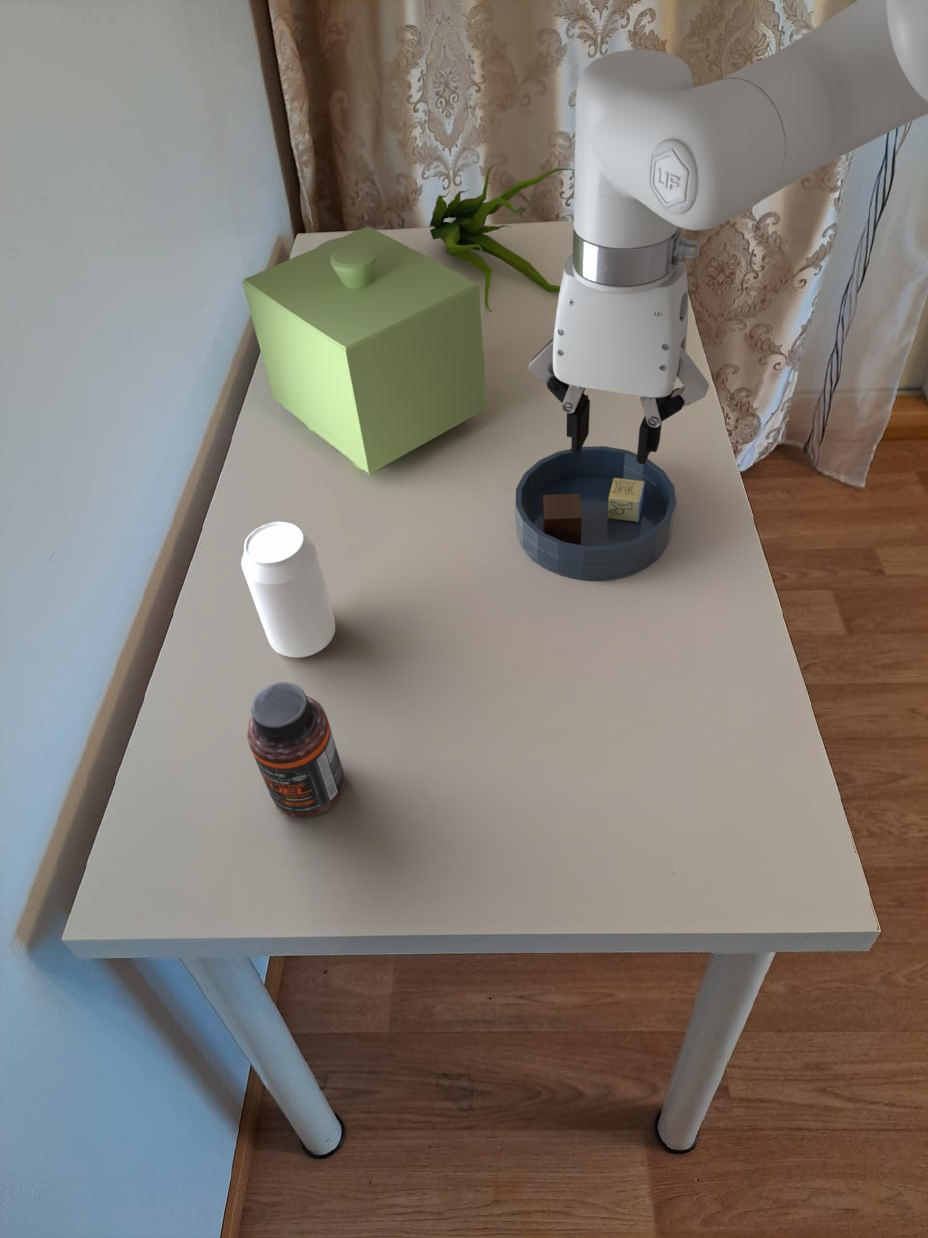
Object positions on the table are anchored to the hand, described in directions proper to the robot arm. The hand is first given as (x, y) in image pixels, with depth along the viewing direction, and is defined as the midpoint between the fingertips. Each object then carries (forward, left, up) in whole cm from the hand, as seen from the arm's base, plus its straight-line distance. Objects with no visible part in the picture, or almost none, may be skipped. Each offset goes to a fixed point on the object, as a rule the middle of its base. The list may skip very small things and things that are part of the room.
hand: (612, 447), depth 80 cm
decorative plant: (+26, -47, -12) cm, 55 cm away
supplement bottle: (+15, +34, -12) cm, 39 cm away
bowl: (+2, -2, -11) cm, 12 cm away
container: (+30, -12, -12) cm, 34 cm away
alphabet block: (-1, -4, -11) cm, 12 cm away
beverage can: (+23, +20, -12) cm, 33 cm away
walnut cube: (+4, +1, -11) cm, 12 cm away
